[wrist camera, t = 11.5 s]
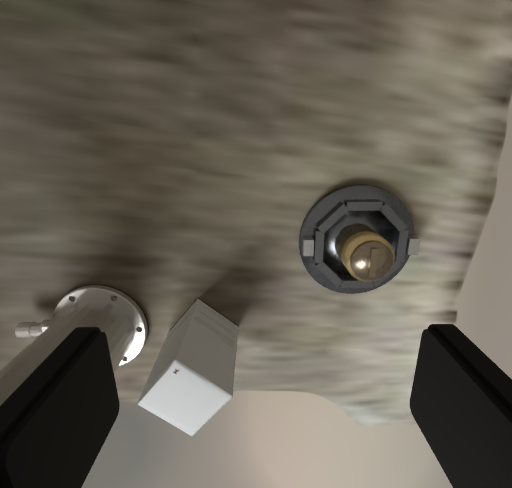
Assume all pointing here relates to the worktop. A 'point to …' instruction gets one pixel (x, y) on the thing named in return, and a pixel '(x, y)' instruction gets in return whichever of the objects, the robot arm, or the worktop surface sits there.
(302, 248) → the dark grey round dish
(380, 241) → the brass lock cylinder
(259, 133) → the worktop surface
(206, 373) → the supplement box
